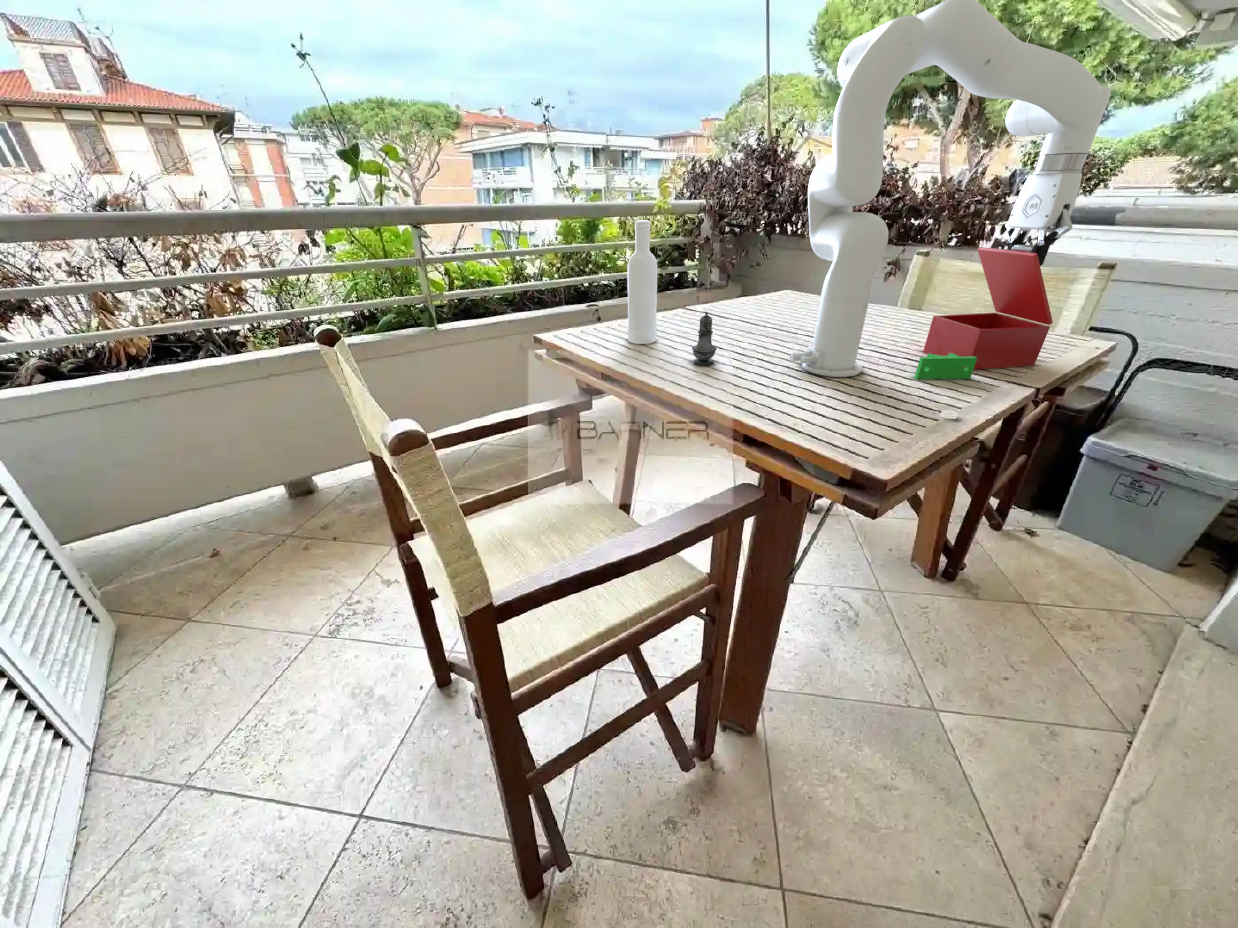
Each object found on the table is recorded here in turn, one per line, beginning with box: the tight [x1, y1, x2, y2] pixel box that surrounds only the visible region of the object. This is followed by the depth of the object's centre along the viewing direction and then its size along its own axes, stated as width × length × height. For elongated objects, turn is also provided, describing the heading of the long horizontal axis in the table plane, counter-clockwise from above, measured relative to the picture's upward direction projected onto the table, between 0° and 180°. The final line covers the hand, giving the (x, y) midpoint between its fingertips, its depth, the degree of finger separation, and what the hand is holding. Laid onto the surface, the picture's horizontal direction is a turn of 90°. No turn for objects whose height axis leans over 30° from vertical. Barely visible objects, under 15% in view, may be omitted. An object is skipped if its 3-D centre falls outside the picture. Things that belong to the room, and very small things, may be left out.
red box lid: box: [977, 244, 1054, 326], centre depth 106 cm, size 18×15×5 cm
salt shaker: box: [691, 311, 718, 367], centre depth 113 cm, size 6×6×12 cm
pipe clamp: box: [914, 353, 977, 380], centre depth 103 cm, size 11×4×5 cm, turn 89°
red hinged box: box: [922, 312, 1051, 370], centre depth 112 cm, size 17×15×9 cm
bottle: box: [627, 219, 658, 345], centre depth 127 cm, size 8×8×30 cm
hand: (1022, 263), depth 105 cm, fingers closed on red box lid, 5 cm apart
